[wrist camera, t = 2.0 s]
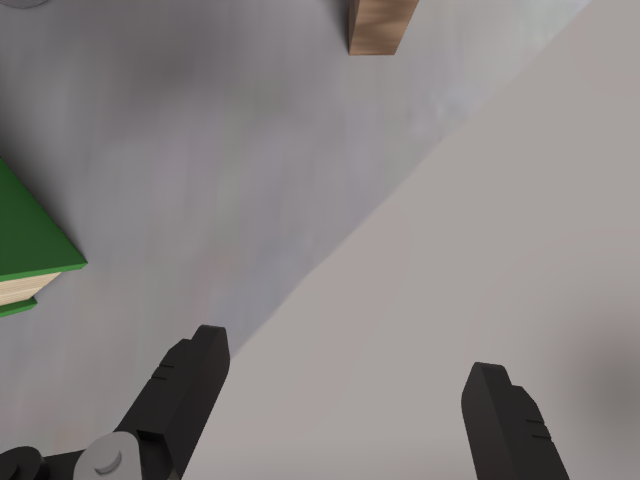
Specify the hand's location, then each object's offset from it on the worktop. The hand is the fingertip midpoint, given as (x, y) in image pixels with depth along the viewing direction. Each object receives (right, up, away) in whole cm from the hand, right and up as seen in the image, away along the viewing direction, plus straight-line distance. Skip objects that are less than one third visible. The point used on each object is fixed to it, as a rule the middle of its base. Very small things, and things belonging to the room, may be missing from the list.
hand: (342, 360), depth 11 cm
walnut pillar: (+4, +25, +23) cm, 34 cm away
